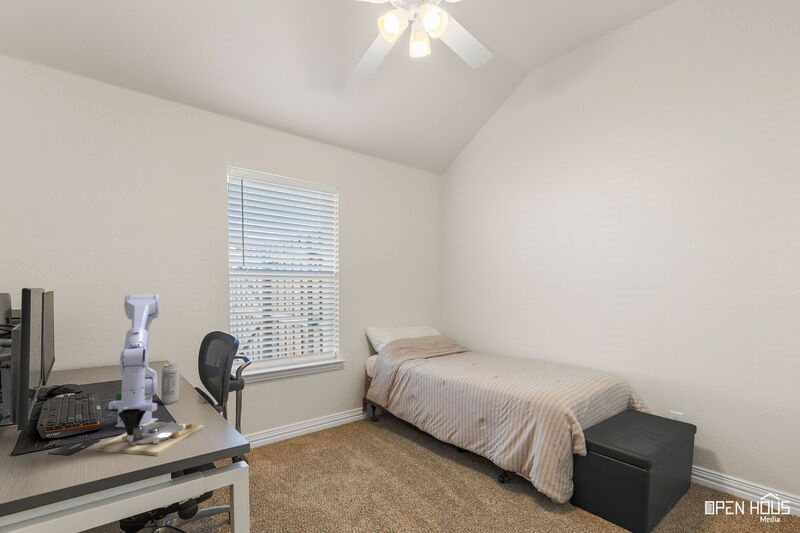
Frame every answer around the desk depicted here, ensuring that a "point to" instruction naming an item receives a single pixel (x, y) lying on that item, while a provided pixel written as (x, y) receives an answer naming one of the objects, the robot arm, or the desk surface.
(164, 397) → the energy drink can
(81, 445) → the solid state drive
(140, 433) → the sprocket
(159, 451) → the board
